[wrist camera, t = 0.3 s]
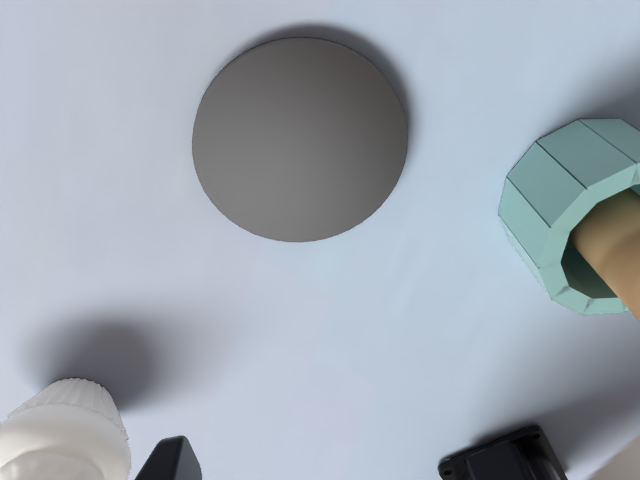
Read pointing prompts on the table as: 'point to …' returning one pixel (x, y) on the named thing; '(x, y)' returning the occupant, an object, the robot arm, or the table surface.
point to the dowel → (613, 244)
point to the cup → (568, 205)
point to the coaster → (299, 140)
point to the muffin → (65, 436)
